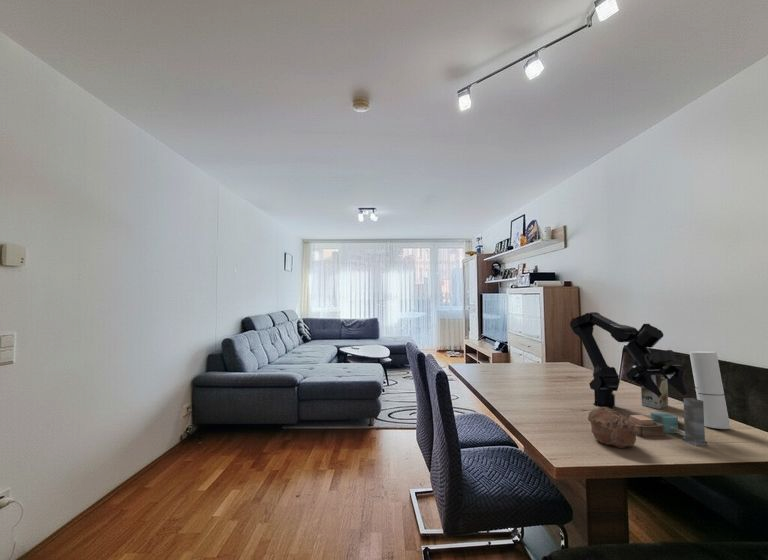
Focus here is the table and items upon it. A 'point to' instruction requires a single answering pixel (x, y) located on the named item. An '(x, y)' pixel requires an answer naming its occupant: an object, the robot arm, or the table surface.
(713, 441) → the table surface
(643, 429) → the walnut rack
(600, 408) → the decorative rock
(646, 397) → the coffee box
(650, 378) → the robot arm
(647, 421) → the block
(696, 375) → the cylindrical container
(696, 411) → the grey teal angled piece
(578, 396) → the table surface
